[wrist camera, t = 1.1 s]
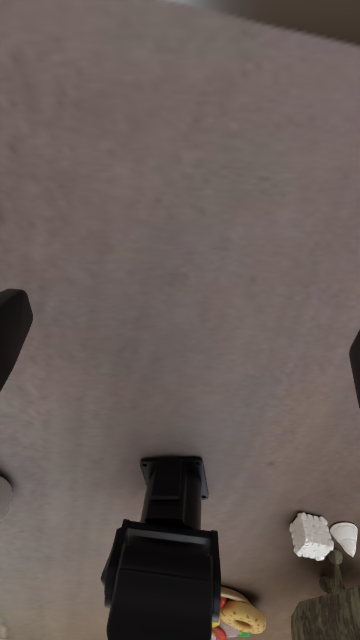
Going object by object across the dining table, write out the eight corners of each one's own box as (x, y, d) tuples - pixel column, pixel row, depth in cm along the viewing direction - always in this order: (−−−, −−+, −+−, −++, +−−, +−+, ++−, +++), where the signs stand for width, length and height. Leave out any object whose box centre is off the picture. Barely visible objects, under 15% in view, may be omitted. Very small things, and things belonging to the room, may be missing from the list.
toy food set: (274, 597, 46) (278, 626, 44) (235, 628, 53) (236, 656, 50) (187, 573, 45) (185, 602, 42) (157, 608, 52) (154, 635, 49)
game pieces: (288, 525, 38) (294, 556, 35) (299, 509, 36) (307, 540, 33) (384, 547, 38) (398, 579, 35) (401, 532, 37) (416, 565, 34)
